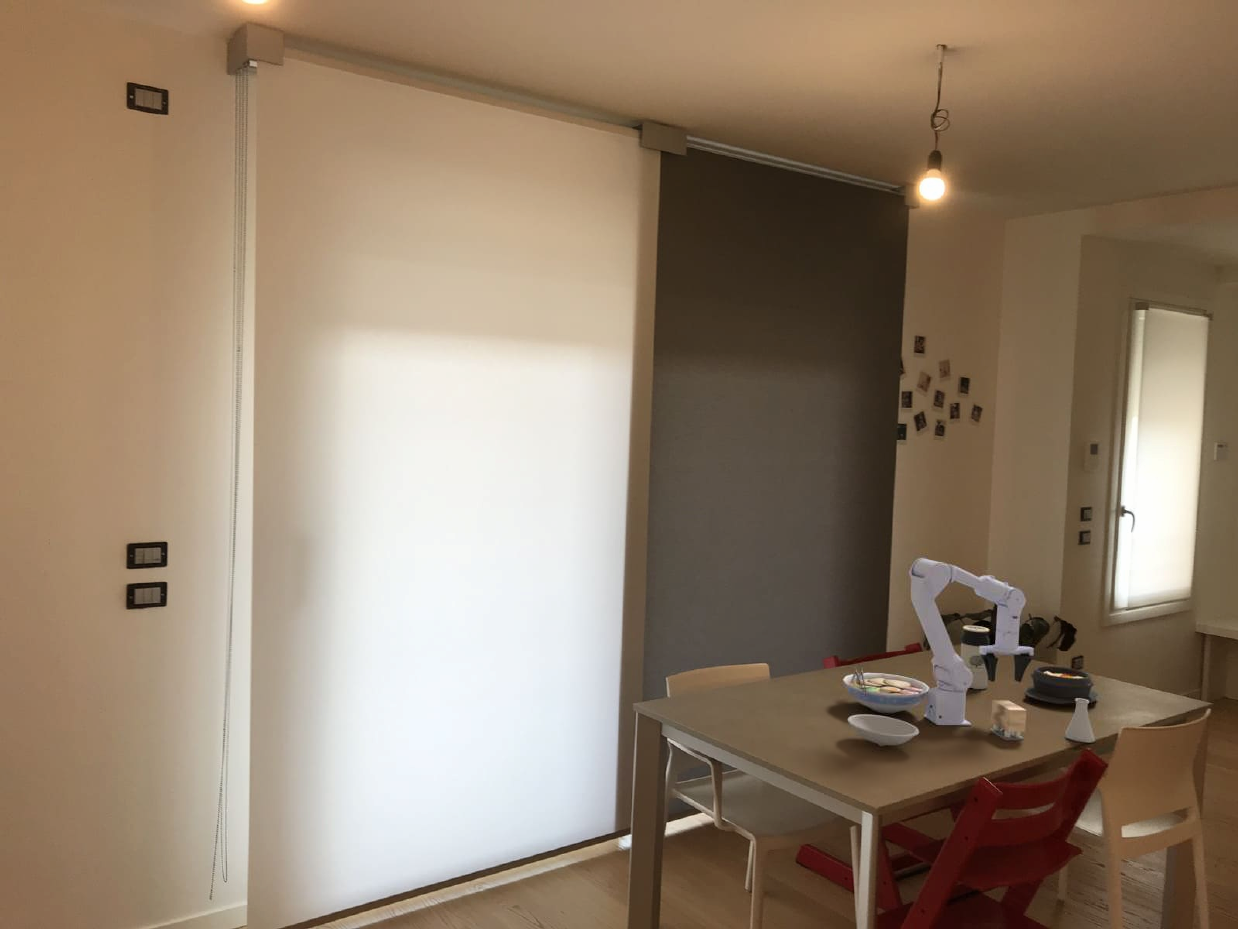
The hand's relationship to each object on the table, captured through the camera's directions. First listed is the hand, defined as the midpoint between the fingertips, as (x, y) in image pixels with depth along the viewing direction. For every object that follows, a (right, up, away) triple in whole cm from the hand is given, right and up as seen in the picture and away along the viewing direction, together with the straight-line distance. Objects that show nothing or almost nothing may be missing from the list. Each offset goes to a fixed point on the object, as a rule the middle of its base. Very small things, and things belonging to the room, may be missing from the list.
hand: (1004, 681), depth 255 cm
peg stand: (-5, -11, -14) cm, 18 cm away
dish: (-40, -10, -26) cm, 49 cm away
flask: (+13, -12, -14) cm, 23 cm away
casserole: (+26, -11, +23) cm, 36 cm away
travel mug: (+4, -10, +34) cm, 36 cm away
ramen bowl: (-31, -9, +4) cm, 33 cm away
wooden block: (-5, -8, -14) cm, 17 cm away
